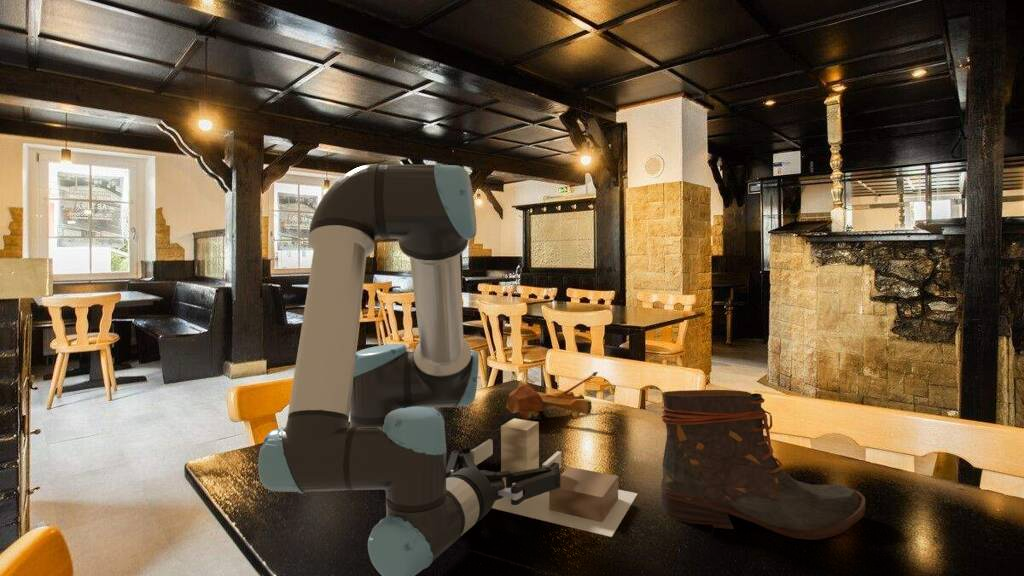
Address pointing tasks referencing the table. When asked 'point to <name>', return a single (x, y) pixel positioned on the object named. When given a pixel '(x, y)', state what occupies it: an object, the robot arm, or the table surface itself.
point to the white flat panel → (540, 510)
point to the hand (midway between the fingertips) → (524, 452)
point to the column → (519, 446)
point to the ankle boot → (741, 470)
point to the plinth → (584, 494)
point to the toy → (546, 401)
